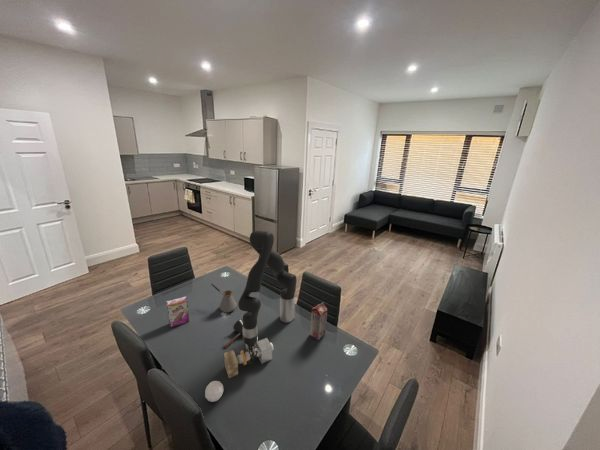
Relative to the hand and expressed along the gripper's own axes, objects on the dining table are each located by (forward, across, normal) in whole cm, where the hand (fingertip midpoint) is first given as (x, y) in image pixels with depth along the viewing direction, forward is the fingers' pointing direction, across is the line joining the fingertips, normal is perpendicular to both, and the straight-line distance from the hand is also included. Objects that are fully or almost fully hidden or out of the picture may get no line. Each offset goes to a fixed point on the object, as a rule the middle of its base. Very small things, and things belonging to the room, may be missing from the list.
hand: (250, 358), depth 126 cm
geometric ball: (+3, -10, +20) cm, 23 cm away
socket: (+2, 0, +10) cm, 10 cm away
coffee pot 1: (+3, +53, +2) cm, 53 cm away
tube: (+1, 0, -3) cm, 3 cm away
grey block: (+2, 0, -8) cm, 8 cm away
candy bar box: (+3, +49, +30) cm, 57 cm away
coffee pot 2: (+3, +21, +2) cm, 22 cm away
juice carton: (+3, 0, -42) cm, 43 cm away
